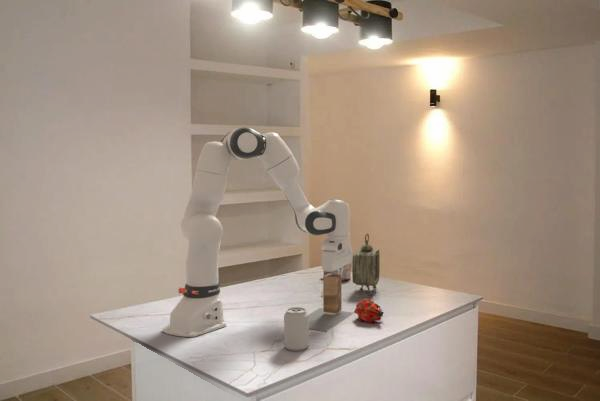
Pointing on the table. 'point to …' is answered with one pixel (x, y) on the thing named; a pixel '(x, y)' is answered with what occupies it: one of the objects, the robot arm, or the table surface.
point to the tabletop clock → (366, 266)
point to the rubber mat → (325, 320)
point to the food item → (345, 274)
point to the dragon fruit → (368, 311)
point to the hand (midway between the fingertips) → (338, 279)
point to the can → (296, 329)
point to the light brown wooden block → (332, 294)
